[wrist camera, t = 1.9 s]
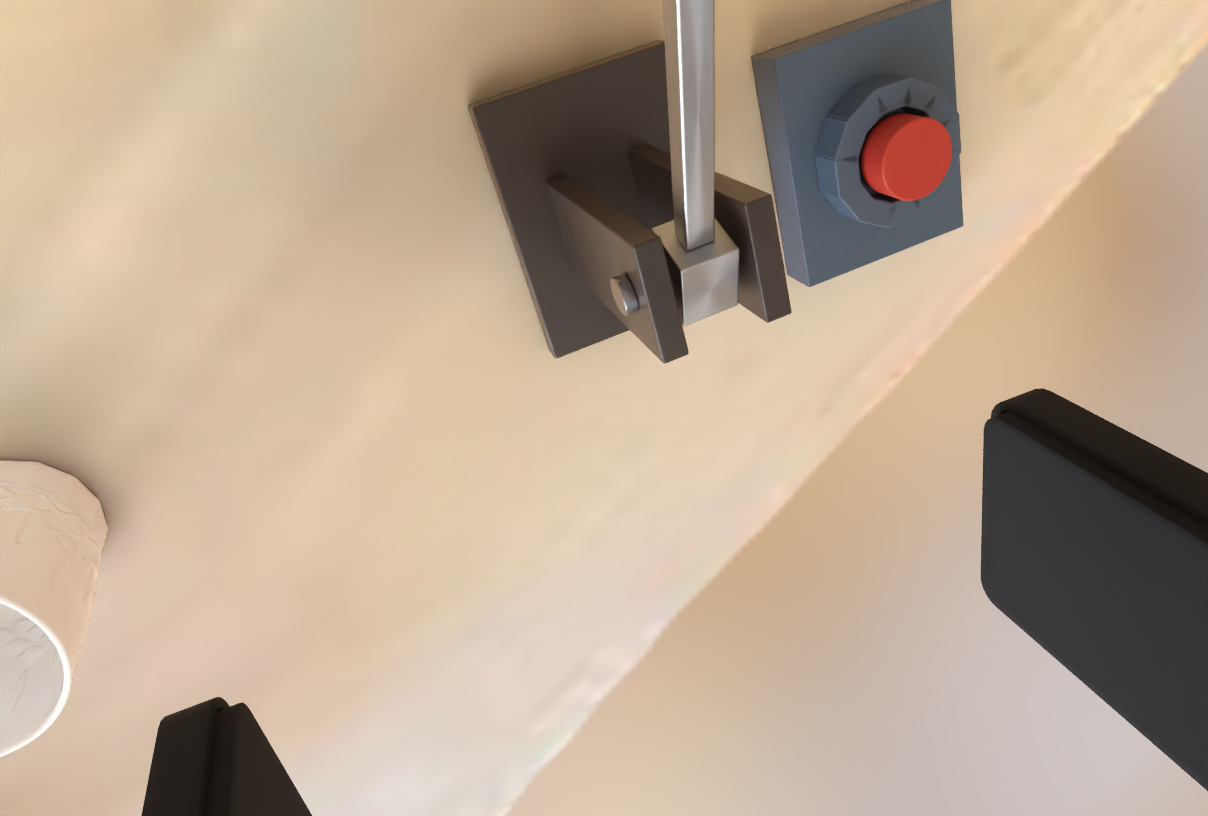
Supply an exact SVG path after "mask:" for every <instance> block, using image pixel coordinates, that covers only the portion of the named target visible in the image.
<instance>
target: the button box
mask: <svg viewBox="0 0 1208 816" xmlns="http://www.w3.org/2000/svg"><path fill="white" fill-rule="evenodd" d="M752 64H753V70H754V75H755V81H756V87H757V93H758V99H759V105H760V111H761V117H762V123H763V129H764V135H765V141H766V147H767V153H768V159H769V165H770V171H771V177H772V182H773V188H774V194H775V200H776V206H777V212H778V218H779V224H780V230H781V236H782V242H783V248H784V254H785V260H786V266H787V272H788V275H789V276H790V277H792V278H794V279H796V280H797V281H799V282H801V283H803V284H805V285H806V286H808V287H811V286H814V285H816V284H819V283H821V282H824V281H826V280H829V279H831V278H834V277H836V276H839V275H841V274H844V273H846V272H849V271H851V270H854V269H856V268H859V267H861V266H864V265H866V264H869V263H872V262H874V261H877V260H879V259H882V258H884V257H887V256H889V255H892V254H894V253H897V252H899V251H902V250H904V249H907V248H909V247H912V246H914V245H917V244H919V243H922V242H924V241H927V240H929V239H932V238H934V237H937V236H939V235H942V234H944V233H947V232H950V231H952V230H955V229H957V228H960V227H962V226H963V212H962V194H961V176H960V158H959V155H960V153H961V143H960V125H959V114H958V112H957V104H956V86H955V68H954V51H953V33H952V15H951V0H912V1H909V2H907V3H904V4H901V5H898V6H895V7H892V8H889V9H886V10H884V11H881V12H878V13H875V14H872V15H869V16H866V17H863V18H861V19H858V20H855V21H852V22H849V23H846V24H843V25H840V26H838V27H835V28H832V29H829V30H826V31H823V32H820V33H817V34H815V35H812V36H809V37H806V38H803V39H800V40H797V41H795V42H792V43H789V44H786V45H783V46H780V47H777V48H774V49H772V50H769V51H766V52H763V53H760V54H757V55H754V56H752ZM899 113H906V114H912V115H917V116H923V117H928V118H933V119H935V120H937V121H939V122H940V123H941V124H943V126H944V127H945V128H946V129H947V131H948V133H949V135H950V138H951V142H952V158H951V163H950V166H949V169H948V171H947V173H946V175H945V177H944V179H943V180H942V182H941V183H940V184H939V185H938V187H937V188H936V189H935V190H934V191H932V192H931V193H930V194H928V195H927V196H925V197H923V198H921V199H918V200H913V201H904V200H900V199H897V198H894V197H891V196H888V195H885V194H882V193H879V192H876V191H875V190H873V189H872V188H871V187H870V186H869V185H868V184H867V182H866V181H865V179H864V177H863V173H862V169H861V155H862V150H863V146H864V144H865V141H866V139H867V137H868V136H869V134H870V133H871V131H872V130H873V129H874V127H875V126H876V125H877V124H878V123H880V122H881V121H882V120H884V119H885V118H887V117H889V116H891V115H894V114H899Z"/></svg>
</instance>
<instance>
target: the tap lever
mask: <svg viewBox="0 0 1208 816" xmlns="http://www.w3.org/2000/svg"><path fill="white" fill-rule="evenodd" d="M662 1H663V20H664V39H665V58H666V77H667V97H668V116H669V135H670V154H671V173H672V192H673V211H674V220H672V221H670V222H667V223H664V224H662V225H659V226H656V227H653V228H652V229H651V231H652V232H654V233H655V234H657V235H658V236H660V237H661V241H662V245H663V249H664V253H665V257H666V261H667V265H668V269H669V274H670V278H671V282H672V286H673V290H674V294H675V298H676V302H677V306H678V311H679V315H680V319H681V323H682V325H683V326H686V325H688V324H691V323H694V322H696V321H699V320H701V319H704V318H706V317H709V316H711V315H714V314H716V313H719V312H721V311H724V310H726V309H729V308H731V307H734V306H737V305H738V280H739V248H738V246H737V245H736V244H735V242H734V241H733V240H732V239H731V237H730V236H729V235H728V233H727V232H726V231H725V230H724V228H723V227H722V226H721V224H720V223H719V222H718V220H717V219H716V218H715V121H714V0H662Z"/></svg>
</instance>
